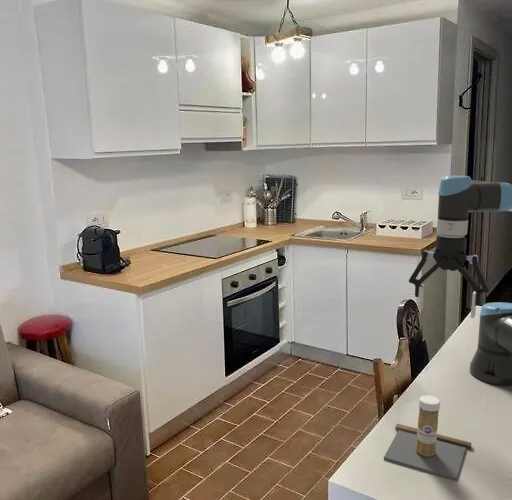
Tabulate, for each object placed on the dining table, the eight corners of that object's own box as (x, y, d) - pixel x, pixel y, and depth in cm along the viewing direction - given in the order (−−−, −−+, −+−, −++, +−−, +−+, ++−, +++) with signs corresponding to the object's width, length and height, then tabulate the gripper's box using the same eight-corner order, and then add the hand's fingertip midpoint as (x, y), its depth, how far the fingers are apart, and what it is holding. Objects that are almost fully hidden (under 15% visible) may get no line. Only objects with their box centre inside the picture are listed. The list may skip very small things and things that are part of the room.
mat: (398, 432, 133) (398, 430, 133) (465, 450, 125) (465, 447, 125) (383, 459, 122) (383, 457, 122) (456, 480, 114) (456, 478, 114)
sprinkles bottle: (418, 457, 121) (422, 403, 118) (413, 446, 126) (417, 394, 123) (438, 457, 121) (443, 404, 118) (432, 446, 125) (436, 394, 123)
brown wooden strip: (396, 427, 135) (397, 423, 135) (471, 446, 126) (471, 442, 126) (395, 429, 134) (395, 426, 134) (470, 449, 125) (470, 445, 125)
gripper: (400, 233, 140) (396, 309, 144) (502, 241, 128) (494, 324, 132) (407, 229, 146) (403, 301, 151) (505, 236, 134) (497, 315, 139)
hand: (445, 312), depth 142 cm, fingers open, 13 cm apart
